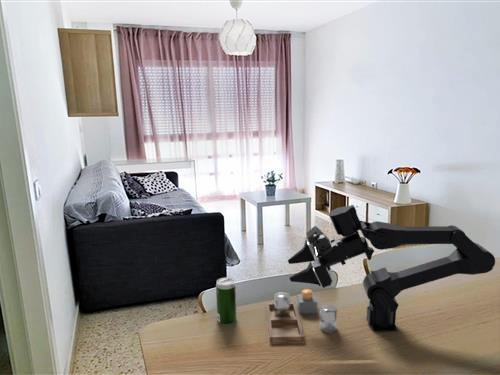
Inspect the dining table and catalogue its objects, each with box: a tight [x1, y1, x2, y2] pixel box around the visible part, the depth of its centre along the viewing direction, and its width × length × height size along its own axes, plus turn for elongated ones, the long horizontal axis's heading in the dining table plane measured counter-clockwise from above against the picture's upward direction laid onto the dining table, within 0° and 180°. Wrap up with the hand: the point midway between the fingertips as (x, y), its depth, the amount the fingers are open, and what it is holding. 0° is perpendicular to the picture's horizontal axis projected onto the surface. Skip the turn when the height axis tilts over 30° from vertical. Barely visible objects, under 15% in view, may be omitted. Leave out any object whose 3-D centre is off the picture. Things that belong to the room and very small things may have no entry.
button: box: [301, 288, 313, 301], centre depth 111 cm, size 3×3×2 cm
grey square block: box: [296, 293, 318, 315], centre depth 112 cm, size 5×5×4 cm
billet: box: [318, 304, 338, 334], centre depth 102 cm, size 4×4×6 cm
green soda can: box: [215, 277, 238, 326], centre depth 106 cm, size 5×5×12 cm
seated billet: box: [273, 291, 291, 317], centre depth 108 cm, size 4×4×6 cm
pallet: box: [265, 301, 306, 345], centre depth 105 cm, size 9×18×2 cm, turn 0°
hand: (289, 270), depth 104 cm, fingers open, 9 cm apart
